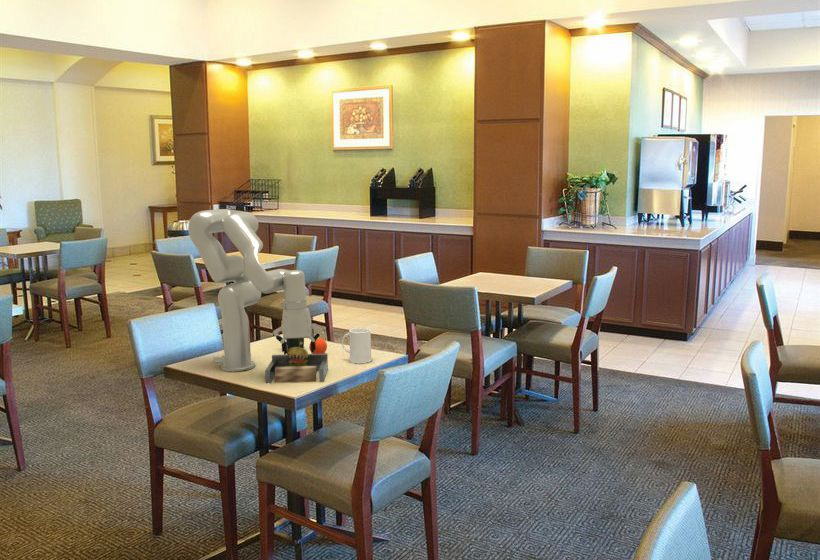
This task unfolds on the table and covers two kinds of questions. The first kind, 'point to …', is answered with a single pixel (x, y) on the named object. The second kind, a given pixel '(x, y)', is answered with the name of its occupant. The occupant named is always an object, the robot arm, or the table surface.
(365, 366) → the table surface
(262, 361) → the table surface
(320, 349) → the clementine
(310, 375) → the light brown long block
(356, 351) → the mug
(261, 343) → the table surface
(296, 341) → the potion bottle
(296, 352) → the burger with flag pick
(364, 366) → the table surface
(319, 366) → the frame
